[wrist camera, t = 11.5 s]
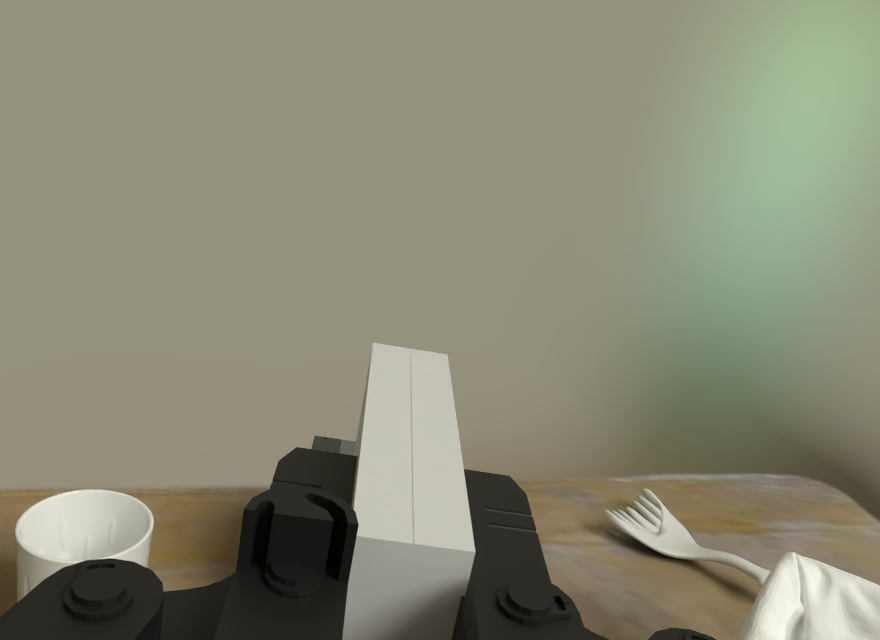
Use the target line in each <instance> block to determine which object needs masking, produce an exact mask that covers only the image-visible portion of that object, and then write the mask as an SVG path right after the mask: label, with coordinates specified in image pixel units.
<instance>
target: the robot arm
mask: <svg viewBox="0 0 880 640" xmlns="http://www.w3.org/2000/svg"><path fill="white" fill-rule="evenodd" d="M531 514H532V513H531V509H530V506H529V502H528V499H527V495H526V493H525V492H524V491H523V490H522V489H521V488H520V487H519V486H518V485H517V484H516V483H515V481H514V480H513V479H512V478H511V477H510V476H506V475H499V474H492V473H486V472H479V471H472V470H465V469H464V468H463V462H462V454H461V448H460V440H459V433H458V426H457V419H456V412H455V405H454V398H453V391H452V385H451V377H450V370H449V363H448V356H447V355H446V354H440V353H434V352H428V351H421V350H415V349H409V348H403V347H397V346H390V345H384V344H378V343H373V346H372V351H371V357H370V363H369V369H368V375H367V381H366V387H365V393H364V398H363V404H362V410H361V416H360V422H359V428H358V433H357V440H356V445H355V451H354V456H353V455H347V454H340V453H333V452H326V451H319V450H312V449H305V448H298V447H296V448H295V449H294V450H292V451H291V452H290V453H288V454H287V455H286V456H285V457H283V458H282V459H281V460H280V461H279V462H278V465H277V468H276V471H275V474H274V477H273V482H272V484H271V487H270V490H267V491H265V492H263V493H261V494H259V495H257V496H255V497H253V498H252V499H251V501H250V502H249V503H248V505H247V506H246V507H245V509H244V513H243V521H242V529H241V537H240V545H239V553H238V561H237V569H236V572H235V573H234V574H232V575H231V576H229V577H227V578H226V579H224V580H222V581H220V582H217V583H214V584H211V585H208V586H205V587H199V588H193V589H187V590H177V591H166V592H163V584H162V582H161V581H160V579H159V578H158V577H157V576H156V575H155V573H154V572H153V571H152V570H150V569H148V568H146V567H144V566H142V565H140V564H138V563H136V562H133V561H126V560H120V559H113V558H108V559H95V560H86V561H83V562H79V563H76V564H73V565H70V566H66V567H63V568H62V569H60V570H58V571H57V572H55V573H54V574H52V575H50V576H49V577H47V578H46V579H44V580H43V581H42V582H41V583H39V584H38V585H37V586H36V587H35V588H34V589H32V590H31V591H30V592H29V593H28V594H27V595H26V596H24V597H23V598H22V599H21V600H20V601H19V602H18V603H16V604H15V605H14V606H13V607H12V608H11V609H9V610H8V611H7V612H6V613H5V614H4V615H3V616H1V617H0V640H609V639H606V638H604V637H602V636H600V635H597V634H595V633H593V632H591V631H590V630H588V629H586V628H585V627H584V626H583V623H582V620H581V616H580V613H579V611H578V610H577V608H576V606H575V604H574V603H573V601H572V599H571V598H570V597H568V596H567V595H566V594H565V593H564V592H563V591H562V590H560V589H559V588H558V587H557V586H555V585H553V584H551V581H550V577H549V574H548V570H547V567H546V563H545V559H544V556H543V552H542V549H541V545H540V542H539V538H538V534H537V533H536V527H535V524H534V520H533V517H531ZM648 640H716V639H714V638H713V637H710V636H707V635H705V634H702V633H699V632H696V631H693V630H688V629H678V628H669V629H665V630H661V631H657V632H655V633H654V634H653V635H652V636H651V637H650V638H649V639H648Z"/></svg>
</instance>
